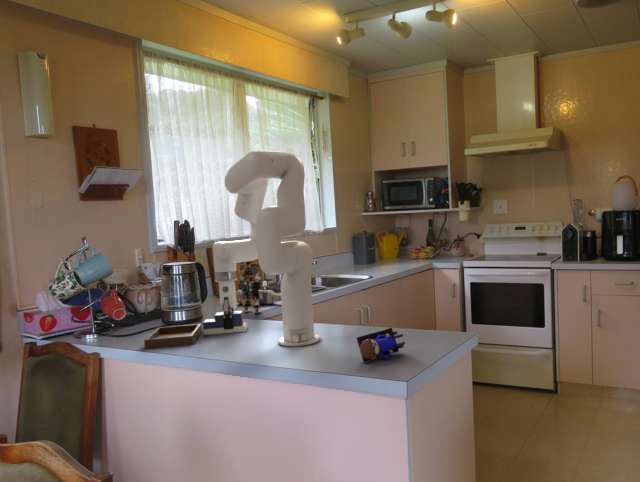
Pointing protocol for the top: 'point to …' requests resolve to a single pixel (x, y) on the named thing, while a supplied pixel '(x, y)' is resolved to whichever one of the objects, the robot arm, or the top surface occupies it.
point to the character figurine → (379, 344)
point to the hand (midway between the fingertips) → (229, 326)
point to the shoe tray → (173, 336)
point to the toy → (250, 285)
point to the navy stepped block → (218, 326)
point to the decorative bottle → (260, 297)
